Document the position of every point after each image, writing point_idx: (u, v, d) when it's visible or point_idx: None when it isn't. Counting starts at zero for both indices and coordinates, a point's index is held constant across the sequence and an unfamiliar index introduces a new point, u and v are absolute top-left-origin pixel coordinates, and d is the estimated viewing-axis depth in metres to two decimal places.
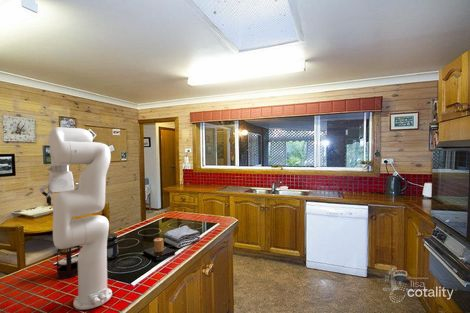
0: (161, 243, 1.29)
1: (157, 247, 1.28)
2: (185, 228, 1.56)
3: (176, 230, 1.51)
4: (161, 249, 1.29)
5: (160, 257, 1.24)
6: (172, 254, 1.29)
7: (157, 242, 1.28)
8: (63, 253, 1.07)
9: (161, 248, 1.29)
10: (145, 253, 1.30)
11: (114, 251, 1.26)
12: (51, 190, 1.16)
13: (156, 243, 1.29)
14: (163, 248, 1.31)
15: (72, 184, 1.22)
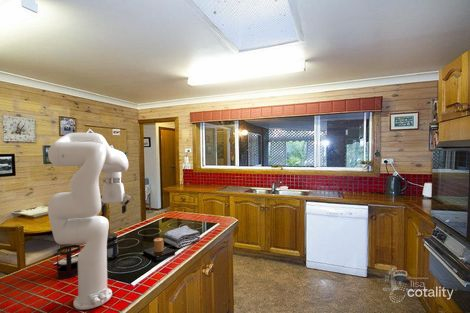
0: (161, 243, 1.29)
1: (157, 247, 1.28)
2: (185, 228, 1.56)
3: (176, 230, 1.51)
4: (161, 249, 1.29)
5: (160, 257, 1.24)
6: (172, 254, 1.29)
7: (157, 242, 1.28)
8: (63, 253, 1.07)
9: (161, 248, 1.29)
10: (145, 253, 1.30)
11: (114, 251, 1.26)
12: (103, 200, 1.23)
13: (156, 243, 1.29)
14: (163, 248, 1.31)
15: (120, 196, 1.24)
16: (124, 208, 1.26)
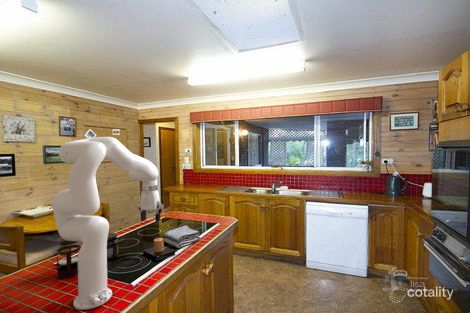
0: (161, 243, 1.29)
1: (157, 247, 1.28)
2: (185, 228, 1.56)
3: (176, 230, 1.51)
4: (161, 249, 1.29)
5: (160, 257, 1.24)
6: (172, 254, 1.29)
7: (157, 242, 1.28)
8: (63, 253, 1.07)
9: (161, 248, 1.29)
10: (145, 253, 1.30)
11: (114, 251, 1.26)
12: (140, 207, 1.29)
13: (156, 243, 1.29)
14: (163, 248, 1.31)
15: (153, 204, 1.26)
16: (157, 216, 1.27)
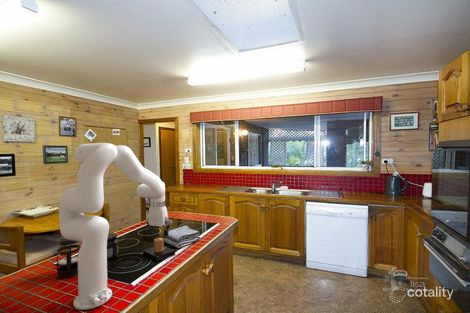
0: (161, 243, 1.29)
1: (157, 247, 1.28)
2: (185, 228, 1.56)
3: (176, 230, 1.51)
4: (161, 249, 1.29)
5: (160, 257, 1.24)
6: (172, 254, 1.29)
7: (157, 242, 1.28)
8: (63, 253, 1.07)
9: (161, 248, 1.29)
10: (145, 253, 1.30)
11: (114, 251, 1.26)
12: (148, 222, 1.30)
13: (156, 243, 1.29)
14: (163, 248, 1.31)
15: (161, 220, 1.27)
16: (166, 232, 1.28)
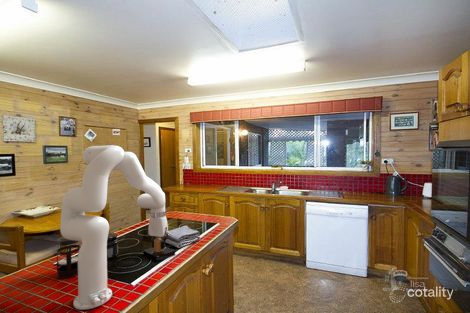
0: None
1: (157, 247, 1.28)
2: (185, 228, 1.56)
3: (176, 230, 1.51)
4: (161, 249, 1.29)
5: (160, 257, 1.24)
6: (172, 254, 1.29)
7: (157, 242, 1.28)
8: (63, 253, 1.07)
9: None
10: (145, 253, 1.30)
11: (114, 251, 1.26)
12: (148, 233, 1.30)
13: (156, 243, 1.29)
14: (163, 248, 1.31)
15: (161, 231, 1.27)
16: (163, 244, 1.29)
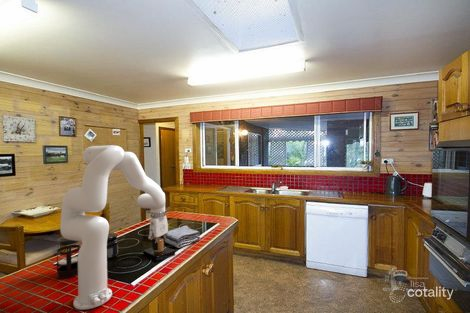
0: None
1: (163, 245, 1.31)
2: (185, 228, 1.56)
3: (176, 230, 1.51)
4: None
5: (160, 257, 1.24)
6: (172, 254, 1.29)
7: None
8: (63, 253, 1.07)
9: None
10: (145, 253, 1.30)
11: (114, 251, 1.26)
12: (156, 235, 1.26)
13: (162, 242, 1.30)
14: None
15: (167, 227, 1.34)
16: None
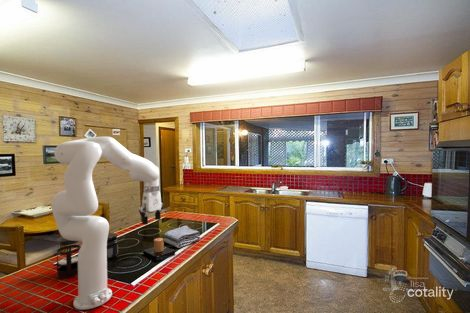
0: None
1: (163, 245, 1.31)
2: (185, 228, 1.56)
3: (176, 230, 1.51)
4: None
5: (160, 257, 1.24)
6: (172, 254, 1.29)
7: None
8: (63, 253, 1.07)
9: None
10: (145, 253, 1.30)
11: (114, 251, 1.26)
12: (149, 210, 1.22)
13: (162, 242, 1.30)
14: None
15: (160, 203, 1.30)
16: None
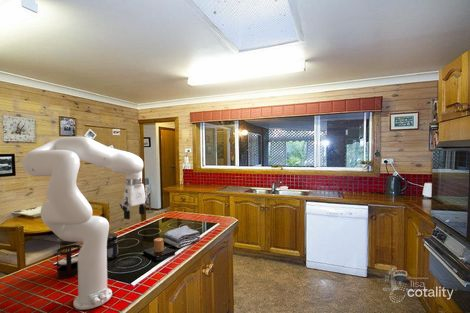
0: None
1: (163, 245, 1.31)
2: (185, 228, 1.56)
3: (176, 230, 1.51)
4: None
5: (160, 257, 1.24)
6: (172, 254, 1.29)
7: None
8: (63, 253, 1.07)
9: None
10: (145, 253, 1.30)
11: (114, 251, 1.26)
12: (131, 203, 1.14)
13: (162, 242, 1.30)
14: None
15: (144, 196, 1.22)
16: None
